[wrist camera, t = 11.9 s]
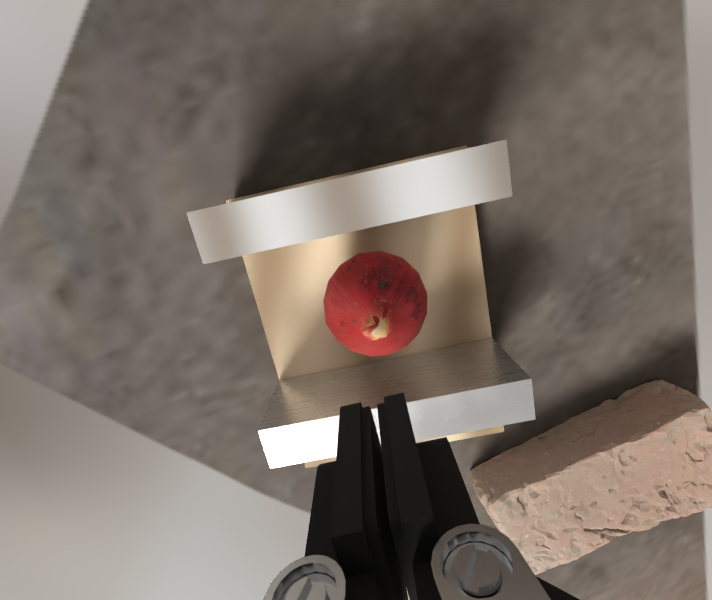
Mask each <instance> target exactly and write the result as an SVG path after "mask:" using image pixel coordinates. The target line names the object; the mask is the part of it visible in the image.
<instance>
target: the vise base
mask: <svg viewBox="0 0 712 600" xmlns="http://www.w3.org/2000/svg"><path fill="white" fill-rule="evenodd" d="M507 197H512V188H511V178H510V169H509V159H508V150H507V140H502V141H498V142H493V143H489V144H485V145H480V146H476V147H472V148H467V145H466V146H462V147H457V148H453V149H448V150H444V151H440V152H435V153H431V154H427V155H422V156H418V157H414V158H409V159H405V160H401V161H396V162H392V163H387V164H383V165H379V166H374V167H370V168H366V169H361V170H357V171H353V172H348V173H344V174H340V175H335V176H331V177H326V178H322V179H318V180H313V181H309V182H305V183H300V184H296V185H292V186H287V187H283V188H279V189H274V190H270V191H265V192H261V193H257V194H252V195H248V196H244V197H239V198H235V199H231V200H226V202H227V204H223V205H218V206H214V207H210V208H205V209H201V210H196V211H192V212H188V213H187V216H188V219H189V222H190V225H191V228H192V231H193V234H194V237H195V240H196V243H197V246H198V249H199V253H200V256H201V259H202V262H203V264H207V263H212V262H216V261H221V260H225V259H230V258H234V257H239V256H243V259H244V263H245V266H246V270H247V273H248V276H249V280H250V283H251V286H252V290H253V293H254V296H255V300H256V303H257V306H258V310H259V313H260V316H261V320H262V323H263V327H264V330H265V333H266V337H267V340H268V343H269V347H270V350H271V353H272V357H273V360H274V363H275V367H276V370H277V373H278V377H279V380H285V379H290V378H295V377H300V376H305V375H310V374H315V373H320V372H325V371H330V370H335V369H340V368H345V367H350V366H355V365H360V364H365V363H370V362H375V361H380V360H385V359H390V358H395V357H400V356H406V355H411V354H416V353H421V352H426V351H431V350H436V349H441V348H446V347H451V346H456V345H461V344H466V343H471V342H476V341H481V340H486V339H491V338H492V333H491V325H490V318H489V310H488V302H487V295H486V287H485V279H484V272H483V264H482V256H481V249H480V241H479V233H478V226H477V218H476V210H475V204H480V203H484V202H489V201H493V200H498V199H502V198H507ZM374 251H383V252H386V253H389V254H393V255H396V256H399V257H402V258H404V259H405V260H406V261H407V262H408V263H409V264H410V265H411V266H412V267H413V268H414V269H415V270H416V271H417V272H418V273H419V275H420V277H421V280H422V282H423V284H424V287H425V289H426V291H427V315H426V318H425V320H424V323H423V325H422V328H421V331H420V333H419V334H418V335H417V336H416V337H415V338H414V340H413V341H412V342H411V343H410V344H409V345H408V346H407V347H405V348H403V349H401V350H399V351H397V352H394V353H392V354H390V355H381V356H368V355H364V354H361V353H357V352H354V351H351V350H350V349H349V348H347V347H346V346H344V345H343V344H341V343H340V342H339V341H337V340H336V339H335V337H334V335H333V334H332V332H331V331H330V329H329V328H328V326H327V325H326V322H325V313H324V303H323V300H324V296H325V292H326V288H327V284H328V281H329V279H330V278H331V277H332V275H333V274H334V272H335V271H336V270H337V268H338V267H339V266H340V265H341V264H342V263H344V262H345V261H347V260H349V259H350V258H352V257H353V256H355V255H356V254H358V253H366V252H374ZM499 432H504V425H503V426H497V427H492V428H486V429H481V430H476V431H470V432H465V433H460V434H454V435H449V436H443V437H447V439H448V441H449V442H450V441H456V440H461V439H466V438H472V437H477V436H483V435H488V434H494V433H499ZM443 437H438V438H433V439H427V440H422V441H416V443H420V442H425V441H429V440H434V439H439V438H443ZM332 461H336V456H335V457H330V458H325V459H319V460H314V461H308V462H304V464H305V467H306V468H309V467H315V466H319V464H323V463H327V462H332Z"/></svg>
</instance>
